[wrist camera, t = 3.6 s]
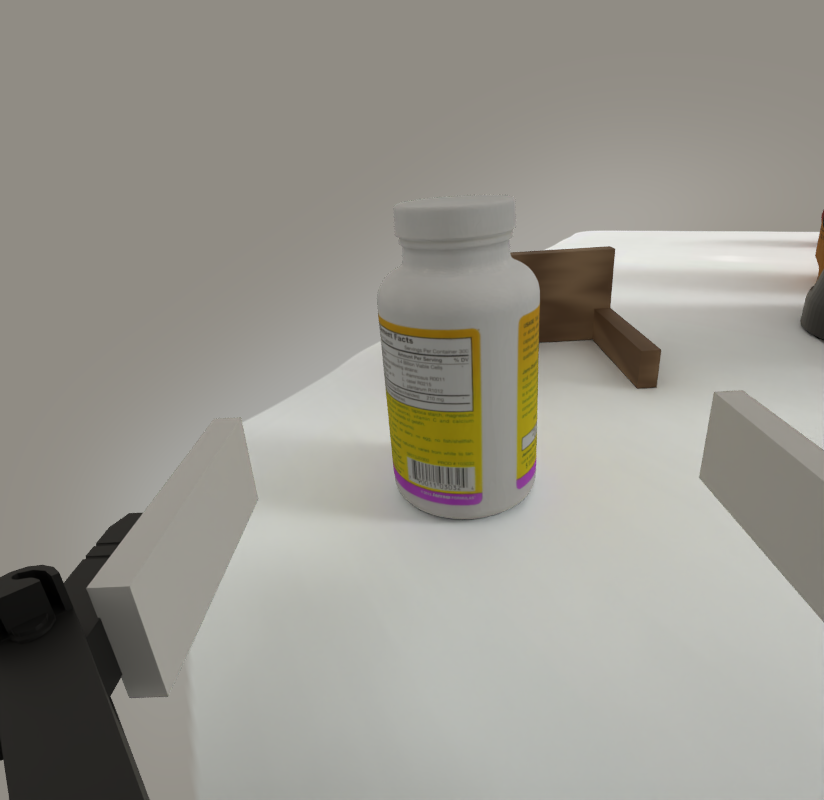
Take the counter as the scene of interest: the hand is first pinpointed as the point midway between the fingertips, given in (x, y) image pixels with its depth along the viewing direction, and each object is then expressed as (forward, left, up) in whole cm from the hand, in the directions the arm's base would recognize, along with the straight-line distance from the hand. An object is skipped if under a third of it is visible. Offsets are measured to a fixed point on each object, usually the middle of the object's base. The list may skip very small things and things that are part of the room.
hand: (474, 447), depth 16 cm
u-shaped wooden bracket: (-7, -24, -7) cm, 26 cm away
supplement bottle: (0, -9, -7) cm, 11 cm away
